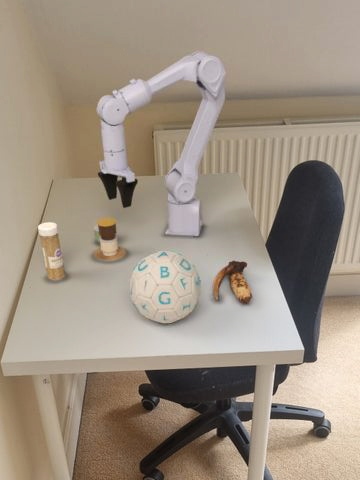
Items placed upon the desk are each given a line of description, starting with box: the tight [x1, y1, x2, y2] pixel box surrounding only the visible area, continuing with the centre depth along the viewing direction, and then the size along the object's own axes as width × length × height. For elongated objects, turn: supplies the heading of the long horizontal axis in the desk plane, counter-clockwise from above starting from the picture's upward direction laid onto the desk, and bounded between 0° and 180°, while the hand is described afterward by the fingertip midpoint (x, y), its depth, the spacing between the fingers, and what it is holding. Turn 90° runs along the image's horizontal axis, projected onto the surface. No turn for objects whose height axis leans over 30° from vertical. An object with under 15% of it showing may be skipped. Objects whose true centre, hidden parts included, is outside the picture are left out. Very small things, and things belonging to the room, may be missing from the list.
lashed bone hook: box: [212, 260, 253, 305], centre depth 136 cm, size 9×5×18 cm
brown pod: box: [96, 217, 117, 240], centre depth 151 cm, size 5×5×4 cm
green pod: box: [93, 224, 101, 244], centre depth 161 cm, size 5×5×4 cm
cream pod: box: [99, 234, 119, 256], centre depth 153 cm, size 5×5×4 cm
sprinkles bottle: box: [37, 221, 66, 281], centre depth 142 cm, size 5×5×13 cm
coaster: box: [93, 246, 127, 261], centre depth 155 cm, size 8×8×1 cm
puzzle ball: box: [128, 250, 202, 325], centre depth 124 cm, size 15×15×15 cm
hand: (119, 202), depth 156 cm, fingers open, 7 cm apart
